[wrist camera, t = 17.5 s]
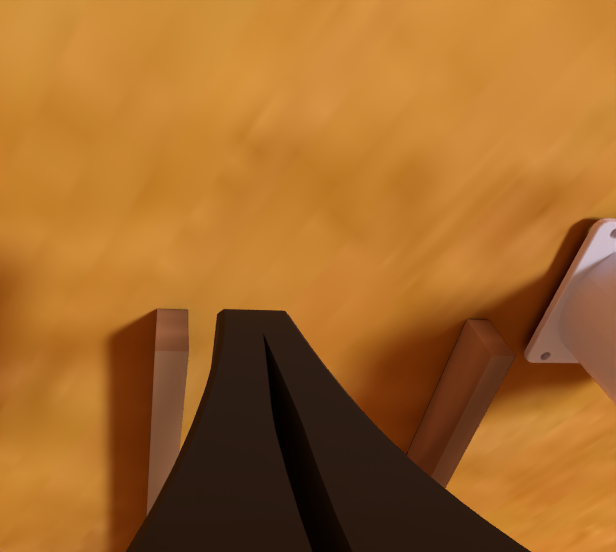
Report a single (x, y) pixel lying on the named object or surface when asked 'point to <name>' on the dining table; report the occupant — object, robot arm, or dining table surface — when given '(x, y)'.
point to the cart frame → (429, 437)
